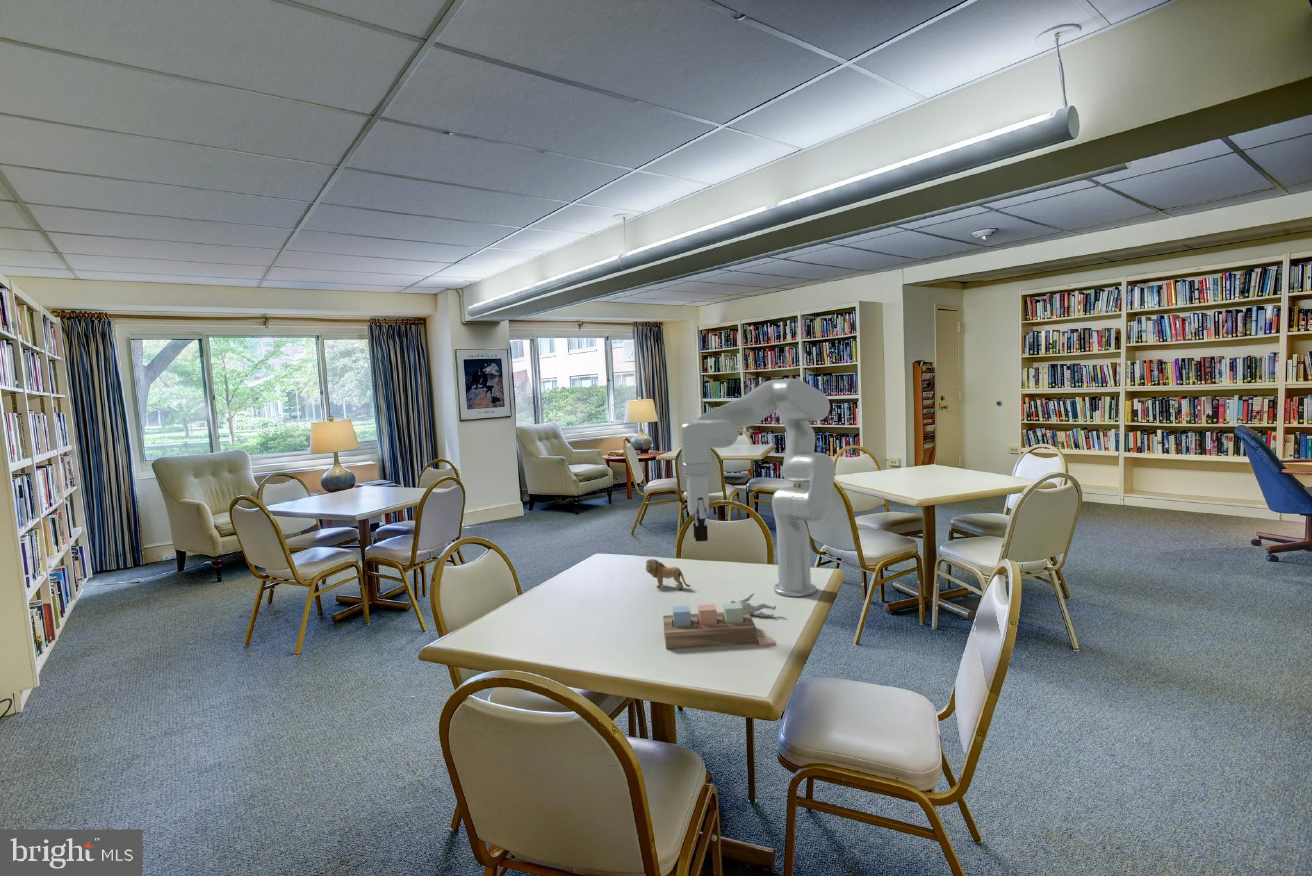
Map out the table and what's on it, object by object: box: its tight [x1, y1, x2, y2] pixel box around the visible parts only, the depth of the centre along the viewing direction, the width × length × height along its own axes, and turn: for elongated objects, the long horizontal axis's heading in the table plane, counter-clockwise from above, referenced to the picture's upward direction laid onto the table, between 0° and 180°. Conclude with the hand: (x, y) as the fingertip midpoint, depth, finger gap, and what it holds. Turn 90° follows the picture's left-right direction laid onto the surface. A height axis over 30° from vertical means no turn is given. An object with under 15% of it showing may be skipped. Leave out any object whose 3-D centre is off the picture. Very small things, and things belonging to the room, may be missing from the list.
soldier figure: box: [729, 592, 777, 619], centre depth 170 cm, size 8×5×12 cm
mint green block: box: [723, 602, 743, 624], centre depth 157 cm, size 4×4×6 cm
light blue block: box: [672, 605, 692, 627], centre depth 156 cm, size 4×4×6 cm
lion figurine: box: [645, 558, 691, 590], centre depth 200 cm, size 15×5×9 cm, turn 71°
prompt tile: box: [756, 636, 776, 647], centre depth 151 cm, size 4×4×1 cm
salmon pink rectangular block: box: [697, 603, 718, 625], centre depth 157 cm, size 4×4×6 cm
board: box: [662, 610, 758, 650], centre depth 157 cm, size 12×22×4 cm, turn 92°
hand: (700, 538), depth 164 cm, fingers open, 3 cm apart
